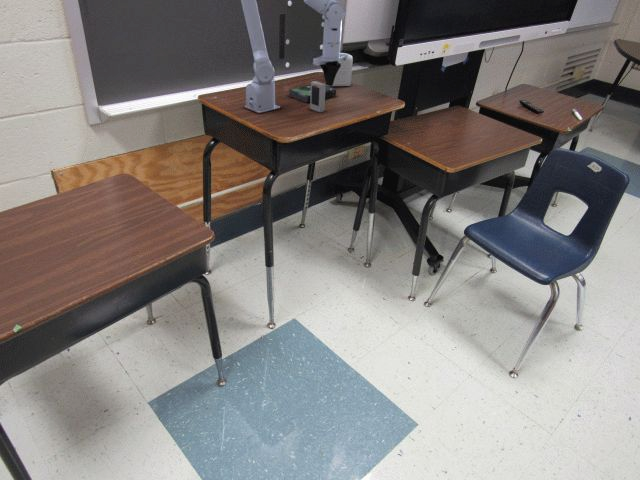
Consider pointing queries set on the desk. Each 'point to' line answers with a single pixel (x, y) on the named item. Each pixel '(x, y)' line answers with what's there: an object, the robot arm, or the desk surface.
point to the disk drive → (309, 92)
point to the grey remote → (317, 96)
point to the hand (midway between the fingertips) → (329, 85)
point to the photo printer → (344, 72)
